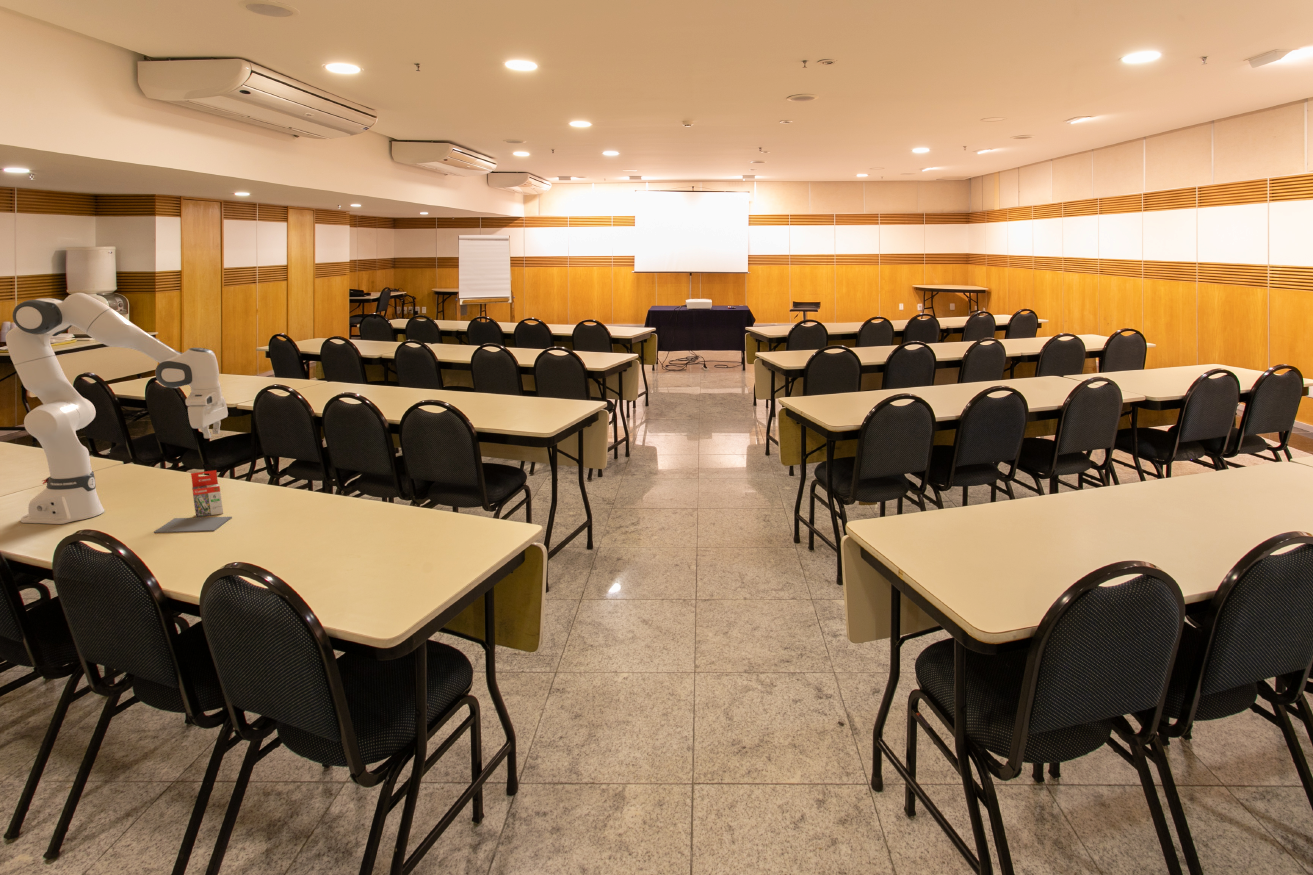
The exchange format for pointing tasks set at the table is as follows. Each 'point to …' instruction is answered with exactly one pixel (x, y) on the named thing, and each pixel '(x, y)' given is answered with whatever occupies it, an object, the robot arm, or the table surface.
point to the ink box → (206, 494)
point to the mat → (193, 524)
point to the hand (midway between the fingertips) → (212, 435)
